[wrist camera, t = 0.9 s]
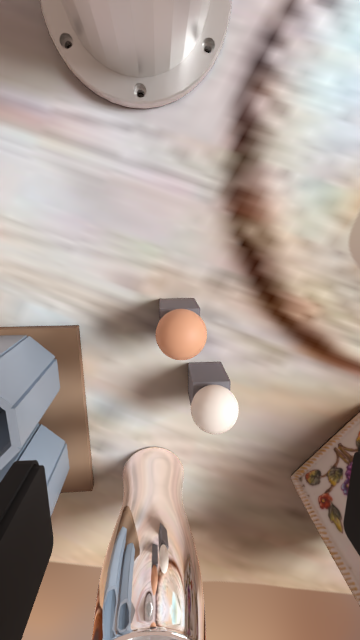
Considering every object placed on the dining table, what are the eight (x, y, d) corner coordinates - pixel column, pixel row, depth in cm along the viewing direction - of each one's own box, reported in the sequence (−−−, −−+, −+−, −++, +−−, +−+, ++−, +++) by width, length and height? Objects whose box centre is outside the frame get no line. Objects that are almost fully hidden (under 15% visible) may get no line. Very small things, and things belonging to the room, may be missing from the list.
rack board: (-54, 328, 26) (-63, 332, 25) (78, 325, 27) (75, 329, 26) (-21, 490, 30) (-27, 499, 29) (93, 484, 31) (91, 493, 30)
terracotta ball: (155, 304, 23) (154, 316, 20) (203, 303, 23) (211, 315, 20) (156, 350, 24) (156, 369, 21) (202, 348, 24) (210, 367, 21)
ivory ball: (188, 377, 25) (193, 400, 21) (233, 375, 25) (245, 398, 22) (188, 417, 26) (193, 445, 22) (231, 415, 26) (243, 443, 22)
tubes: (-36, 336, 26) (-119, 379, 18) (54, 334, 26) (9, 375, 18) (-6, 491, 30) (-63, 581, 22) (71, 487, 30) (41, 574, 22)
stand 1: (159, 298, 27) (159, 309, 23) (194, 298, 27) (199, 308, 23) (160, 332, 28) (160, 347, 24) (194, 331, 28) (199, 346, 24)
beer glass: (104, 475, 31) (55, 685, 17) (150, 429, 30) (143, 609, 16) (156, 511, 33) (153, 731, 18) (202, 468, 32) (238, 665, 17)
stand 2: (188, 362, 28) (192, 382, 25) (220, 361, 29) (230, 381, 25) (188, 392, 29) (192, 416, 25) (219, 391, 29) (229, 414, 26)
